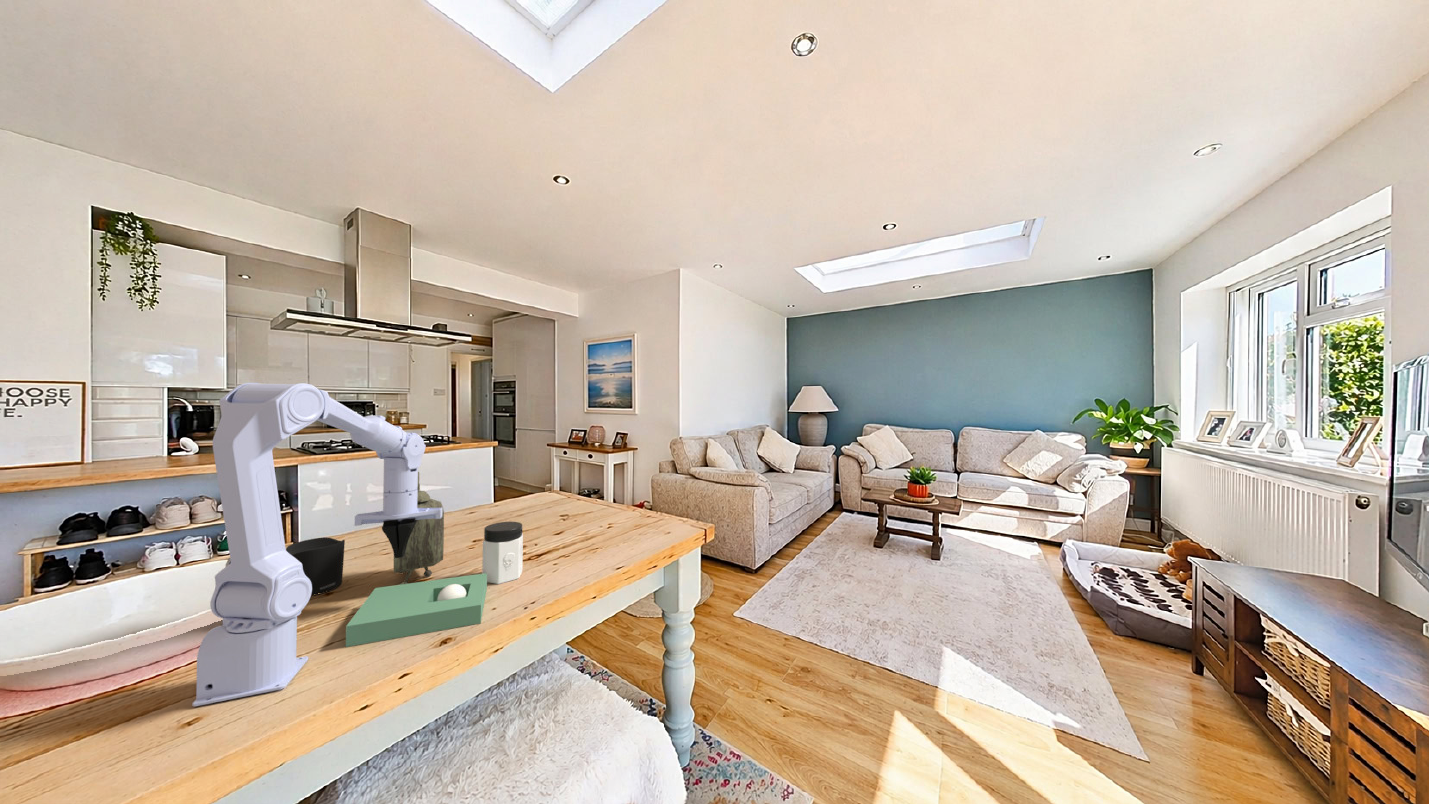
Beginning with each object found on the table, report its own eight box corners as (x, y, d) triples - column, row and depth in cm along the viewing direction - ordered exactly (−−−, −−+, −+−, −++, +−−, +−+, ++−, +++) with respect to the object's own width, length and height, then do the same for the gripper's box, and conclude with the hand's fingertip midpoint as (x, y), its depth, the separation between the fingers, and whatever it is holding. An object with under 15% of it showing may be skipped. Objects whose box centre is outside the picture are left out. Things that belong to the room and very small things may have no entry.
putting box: (345, 647, 72) (346, 626, 72) (375, 605, 87) (375, 588, 87) (480, 623, 80) (480, 604, 80) (486, 588, 95) (487, 573, 95)
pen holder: (279, 603, 87) (280, 553, 87) (292, 586, 95) (292, 541, 95) (340, 592, 92) (340, 546, 92) (347, 577, 100) (348, 534, 100)
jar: (487, 587, 96) (488, 534, 96) (476, 576, 101) (477, 526, 101) (528, 576, 102) (529, 526, 102) (516, 566, 108) (516, 519, 108)
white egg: (466, 595, 83) (464, 616, 84) (468, 577, 87) (466, 597, 89) (436, 598, 81) (434, 619, 82) (439, 579, 85) (437, 600, 86)
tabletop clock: (393, 573, 103) (394, 468, 103) (438, 564, 108) (439, 465, 108) (393, 595, 91) (395, 478, 91) (443, 585, 97) (445, 474, 97)
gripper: (445, 484, 95) (444, 545, 95) (363, 489, 89) (362, 554, 89) (439, 490, 88) (438, 556, 88) (351, 496, 82) (350, 566, 82)
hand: (399, 556), depth 88 cm, fingers closed
